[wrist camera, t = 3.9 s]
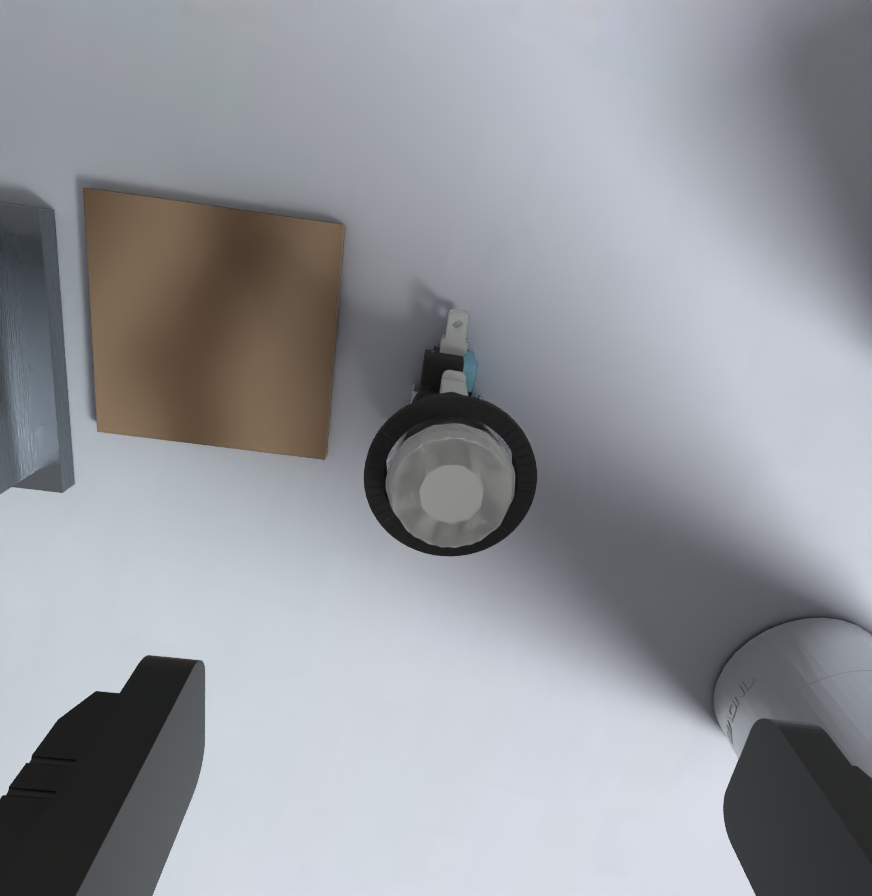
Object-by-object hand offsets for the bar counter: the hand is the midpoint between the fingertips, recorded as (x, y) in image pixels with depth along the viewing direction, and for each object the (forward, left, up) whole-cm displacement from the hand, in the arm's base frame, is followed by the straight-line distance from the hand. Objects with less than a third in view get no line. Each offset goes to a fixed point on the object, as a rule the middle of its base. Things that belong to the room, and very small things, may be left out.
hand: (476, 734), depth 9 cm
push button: (0, 0, -20) cm, 20 cm away
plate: (+10, -1, -20) cm, 22 cm away
